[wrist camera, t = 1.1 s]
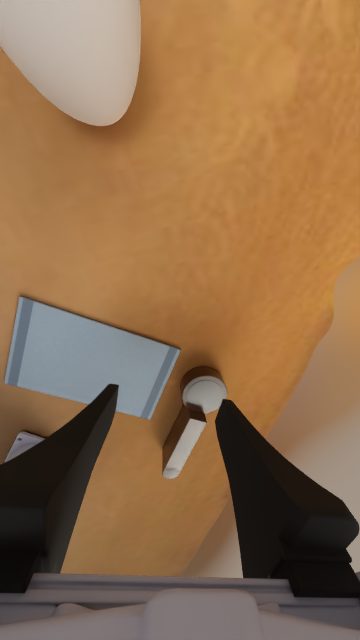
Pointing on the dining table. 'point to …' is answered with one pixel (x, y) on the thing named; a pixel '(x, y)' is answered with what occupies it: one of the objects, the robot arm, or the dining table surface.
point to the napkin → (86, 359)
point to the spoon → (192, 416)
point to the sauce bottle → (76, 53)
